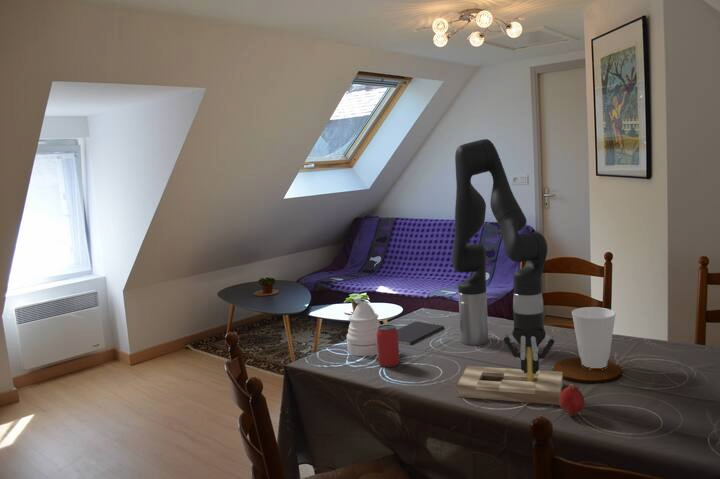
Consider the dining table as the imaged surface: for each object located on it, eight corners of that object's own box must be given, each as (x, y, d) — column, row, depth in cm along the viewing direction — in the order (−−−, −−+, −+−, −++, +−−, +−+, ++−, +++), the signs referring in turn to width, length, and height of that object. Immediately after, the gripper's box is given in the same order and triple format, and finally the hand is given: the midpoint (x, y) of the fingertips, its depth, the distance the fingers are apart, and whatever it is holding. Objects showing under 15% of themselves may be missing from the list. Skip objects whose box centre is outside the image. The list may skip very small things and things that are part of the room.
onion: (555, 411, 151) (554, 380, 150) (578, 409, 151) (577, 378, 150) (565, 421, 145) (564, 389, 144) (588, 419, 146) (588, 387, 145)
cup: (622, 363, 179) (622, 310, 177) (606, 376, 171) (606, 320, 168) (582, 356, 187) (581, 305, 185) (565, 367, 179) (564, 314, 176)
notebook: (410, 346, 209) (444, 329, 225) (410, 342, 209) (443, 325, 225) (381, 341, 217) (415, 325, 233) (380, 336, 217) (415, 321, 233)
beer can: (398, 367, 188) (395, 330, 187) (377, 367, 190) (374, 330, 188) (400, 360, 195) (398, 323, 193) (380, 360, 196) (378, 324, 194)
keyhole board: (467, 377, 177) (467, 366, 176) (562, 383, 167) (562, 371, 167) (457, 396, 164) (457, 384, 163) (560, 404, 155) (559, 392, 154)
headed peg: (523, 386, 166) (522, 340, 164) (539, 388, 165) (538, 341, 163) (521, 392, 162) (520, 345, 161) (538, 394, 161) (536, 346, 159)
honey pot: (341, 355, 204) (337, 302, 201) (355, 342, 216) (351, 292, 213) (378, 357, 199) (374, 303, 197) (390, 344, 211) (386, 293, 209)
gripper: (556, 306, 161) (558, 369, 164) (503, 304, 166) (505, 365, 169) (554, 314, 154) (556, 379, 157) (499, 312, 159) (501, 376, 162)
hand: (530, 372), depth 163 cm, fingers closed on headed peg, 2 cm apart
